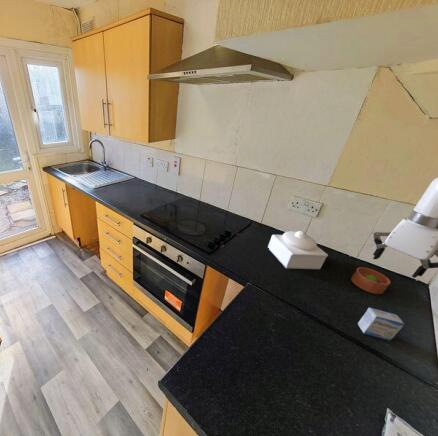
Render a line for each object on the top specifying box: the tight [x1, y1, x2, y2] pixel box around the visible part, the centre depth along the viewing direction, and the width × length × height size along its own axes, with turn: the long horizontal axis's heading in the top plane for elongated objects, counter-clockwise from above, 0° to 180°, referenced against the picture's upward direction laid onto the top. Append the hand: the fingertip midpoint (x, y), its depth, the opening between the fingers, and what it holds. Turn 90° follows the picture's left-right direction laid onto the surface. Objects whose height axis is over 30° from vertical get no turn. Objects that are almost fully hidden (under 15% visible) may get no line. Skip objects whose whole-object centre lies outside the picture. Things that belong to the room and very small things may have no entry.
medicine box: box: [357, 307, 405, 342], centre depth 78 cm, size 8×4×9 cm, turn 71°
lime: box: [364, 275, 378, 283], centre depth 100 cm, size 5×5×5 cm
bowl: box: [350, 266, 391, 295], centre depth 100 cm, size 11×11×6 cm
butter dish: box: [267, 230, 329, 270], centre depth 114 cm, size 18×18×16 cm
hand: (394, 266), depth 73 cm, fingers open, 9 cm apart
